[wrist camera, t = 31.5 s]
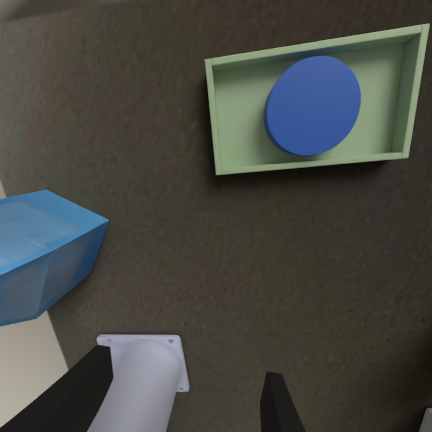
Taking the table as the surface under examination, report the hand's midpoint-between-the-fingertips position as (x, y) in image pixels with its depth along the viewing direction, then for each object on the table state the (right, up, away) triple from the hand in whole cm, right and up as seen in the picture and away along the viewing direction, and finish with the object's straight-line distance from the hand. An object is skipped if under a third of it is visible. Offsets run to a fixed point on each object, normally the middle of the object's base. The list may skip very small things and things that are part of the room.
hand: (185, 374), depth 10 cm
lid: (+7, +14, +4) cm, 16 cm away
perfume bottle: (-12, +6, +11) cm, 17 cm away
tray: (+8, +15, +5) cm, 17 cm away
